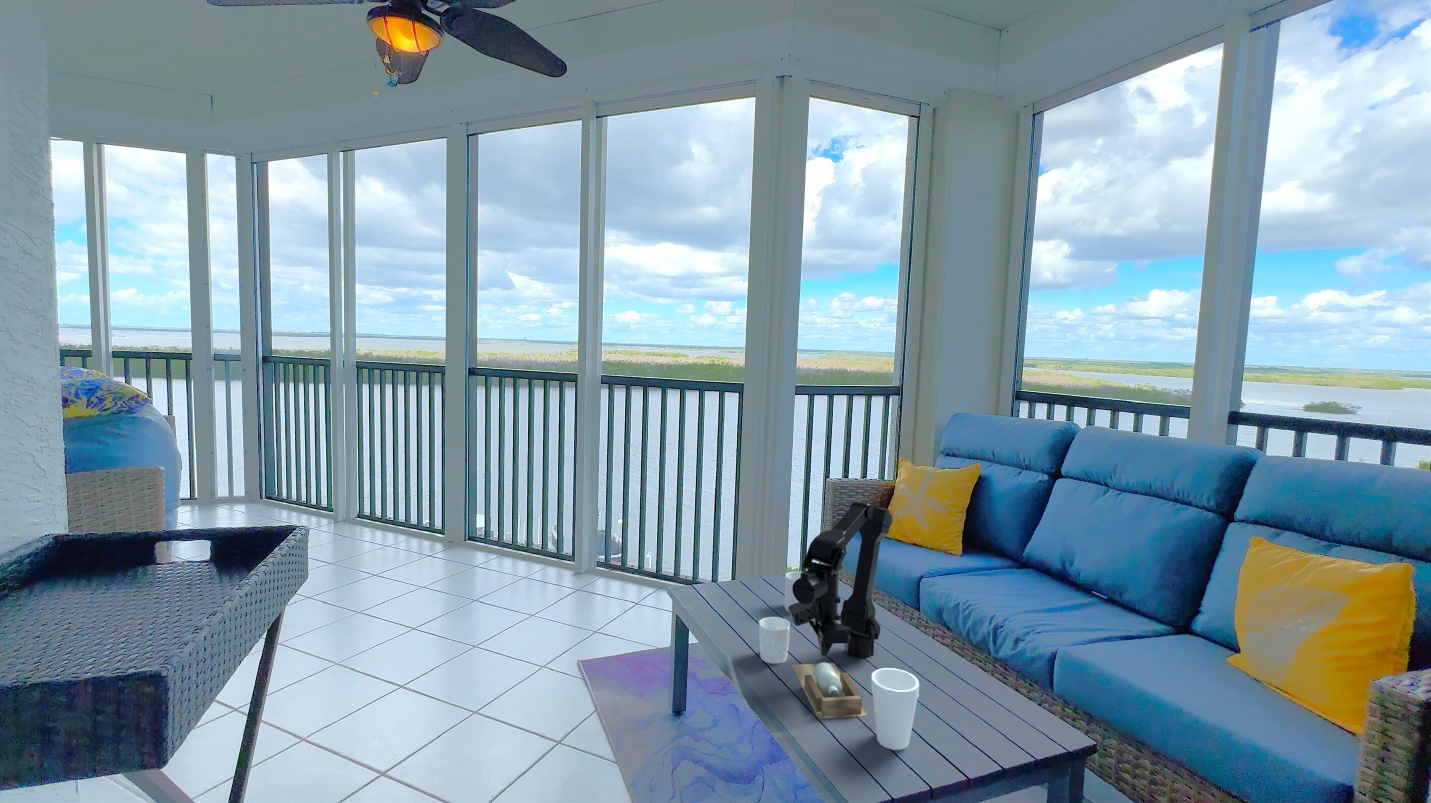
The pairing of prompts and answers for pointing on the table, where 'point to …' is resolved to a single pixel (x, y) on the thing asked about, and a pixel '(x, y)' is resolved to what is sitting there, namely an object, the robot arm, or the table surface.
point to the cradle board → (830, 706)
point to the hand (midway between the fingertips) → (823, 655)
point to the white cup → (774, 639)
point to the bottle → (827, 680)
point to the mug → (790, 588)
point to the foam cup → (894, 706)
